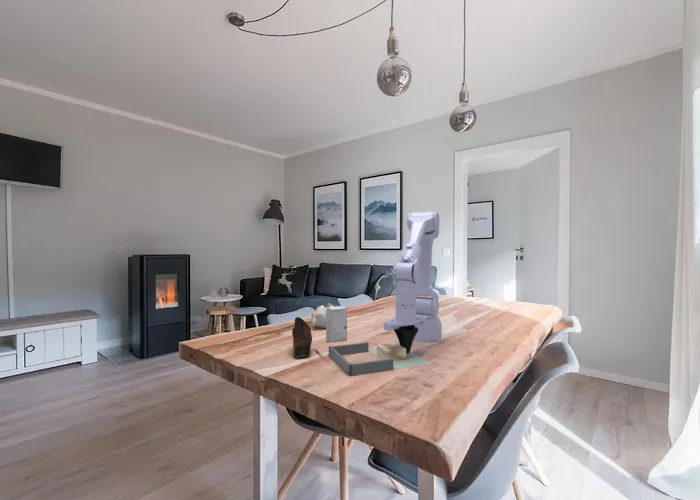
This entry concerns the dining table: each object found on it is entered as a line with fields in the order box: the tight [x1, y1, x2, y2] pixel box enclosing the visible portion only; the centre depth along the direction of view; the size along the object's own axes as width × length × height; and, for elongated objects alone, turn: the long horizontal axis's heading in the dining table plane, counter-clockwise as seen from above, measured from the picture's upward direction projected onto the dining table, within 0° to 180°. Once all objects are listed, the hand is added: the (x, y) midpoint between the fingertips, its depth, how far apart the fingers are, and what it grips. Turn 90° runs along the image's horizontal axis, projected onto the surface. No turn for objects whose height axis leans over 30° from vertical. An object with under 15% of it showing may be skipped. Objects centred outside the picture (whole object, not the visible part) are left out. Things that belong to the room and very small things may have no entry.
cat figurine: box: [311, 302, 335, 329], centre depth 134 cm, size 10×8×15 cm
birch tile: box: [376, 342, 406, 361], centre depth 92 cm, size 6×6×3 cm
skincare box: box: [325, 305, 348, 344], centre depth 110 cm, size 6×4×12 cm
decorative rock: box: [291, 316, 313, 359], centre depth 101 cm, size 12×6×11 cm, turn 6°
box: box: [328, 341, 394, 377], centre depth 89 cm, size 12×16×4 cm
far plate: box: [368, 349, 432, 370], centre depth 93 cm, size 11×16×2 cm
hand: (405, 352), depth 94 cm, fingers closed
